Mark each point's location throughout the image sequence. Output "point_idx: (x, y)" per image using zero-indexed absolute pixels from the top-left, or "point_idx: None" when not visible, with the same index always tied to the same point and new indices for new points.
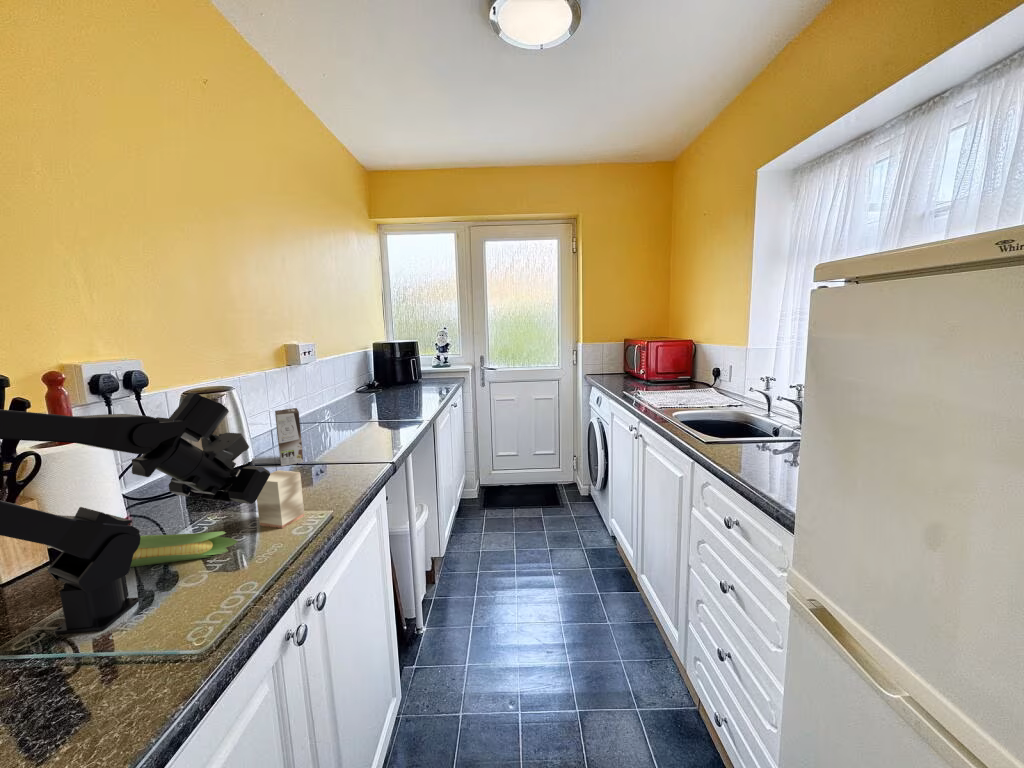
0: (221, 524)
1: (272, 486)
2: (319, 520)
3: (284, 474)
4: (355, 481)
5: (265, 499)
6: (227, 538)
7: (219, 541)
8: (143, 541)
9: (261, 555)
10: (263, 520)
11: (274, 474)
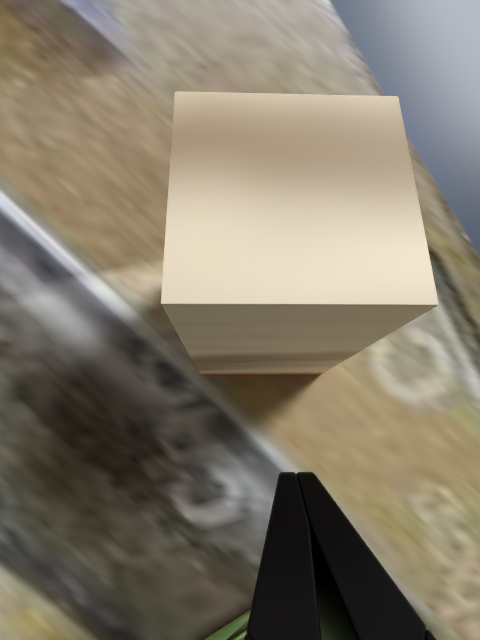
0: (14, 410)
1: (355, 318)
2: None
3: (321, 153)
4: (261, 9)
5: (256, 347)
6: (248, 612)
7: (216, 632)
8: None
9: (452, 603)
10: (222, 370)
11: (232, 166)
